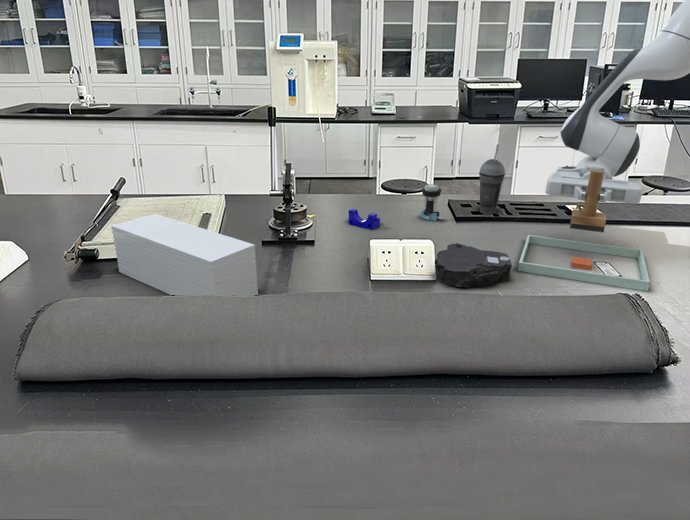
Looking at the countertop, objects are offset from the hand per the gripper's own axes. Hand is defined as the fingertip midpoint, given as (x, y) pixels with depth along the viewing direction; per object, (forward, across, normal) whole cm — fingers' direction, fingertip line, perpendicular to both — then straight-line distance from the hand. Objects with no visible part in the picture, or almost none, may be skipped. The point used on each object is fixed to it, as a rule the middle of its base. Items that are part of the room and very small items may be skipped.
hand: (592, 197), depth 117 cm
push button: (-14, +39, -15) cm, 44 cm away
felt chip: (+6, 0, -14) cm, 15 cm away
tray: (+4, 0, -15) cm, 16 cm away
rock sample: (+20, +22, -15) cm, 33 cm away
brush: (-1, 0, -7) cm, 7 cm away
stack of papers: (+47, +75, -15) cm, 90 cm away
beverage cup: (-28, +26, -15) cm, 41 cm away
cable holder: (-2, +55, -15) cm, 57 cm away
